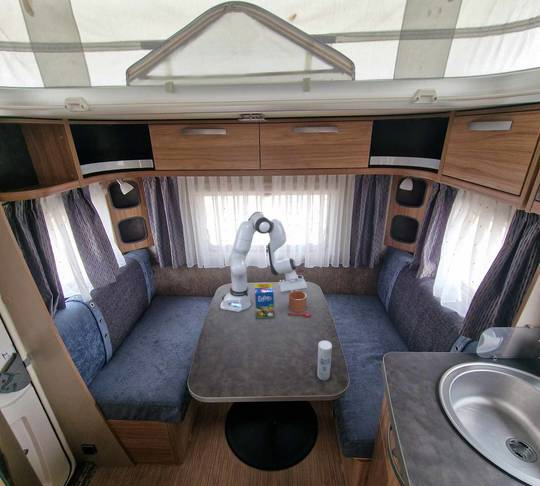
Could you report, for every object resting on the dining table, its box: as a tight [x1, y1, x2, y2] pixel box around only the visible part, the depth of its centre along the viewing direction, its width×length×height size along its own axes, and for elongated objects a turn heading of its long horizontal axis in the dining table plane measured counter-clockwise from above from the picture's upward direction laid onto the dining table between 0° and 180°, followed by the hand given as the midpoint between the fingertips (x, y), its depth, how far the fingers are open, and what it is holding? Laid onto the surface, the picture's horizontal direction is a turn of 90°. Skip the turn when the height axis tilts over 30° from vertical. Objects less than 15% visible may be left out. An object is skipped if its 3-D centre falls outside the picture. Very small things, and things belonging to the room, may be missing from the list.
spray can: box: [316, 339, 333, 381], centre depth 141 cm, size 6×6×20 cm
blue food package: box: [254, 283, 275, 319], centre depth 190 cm, size 6×12×25 cm, turn 92°
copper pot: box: [288, 290, 307, 313], centre depth 202 cm, size 12×12×10 cm
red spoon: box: [287, 312, 311, 318], centre depth 194 cm, size 15×4×1 cm, turn 81°
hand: (295, 296), depth 208 cm, fingers closed, pressing on copper pot
